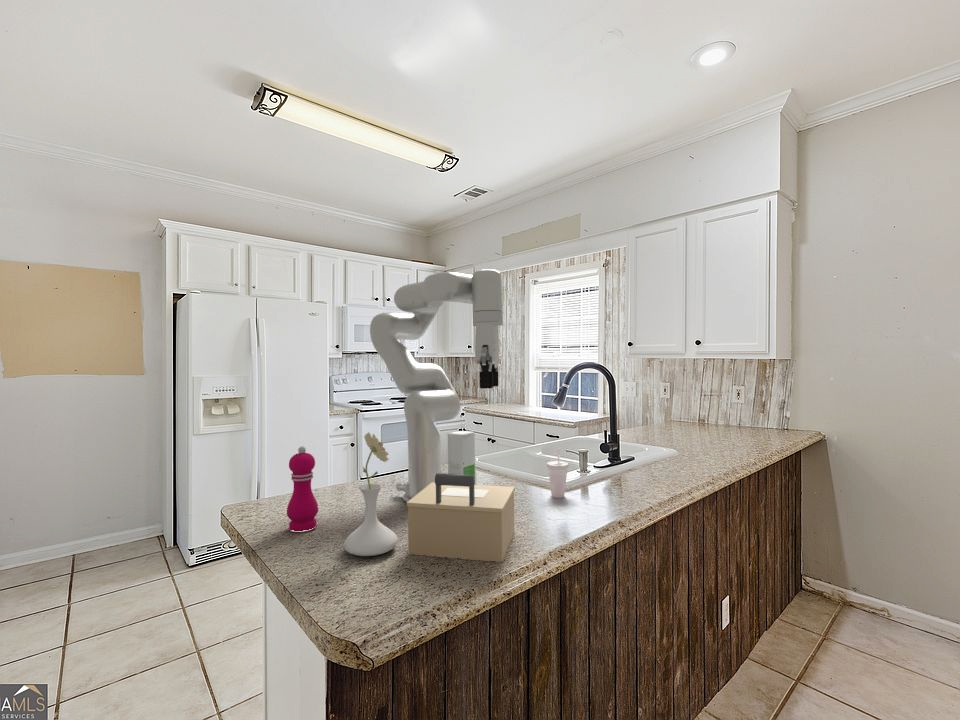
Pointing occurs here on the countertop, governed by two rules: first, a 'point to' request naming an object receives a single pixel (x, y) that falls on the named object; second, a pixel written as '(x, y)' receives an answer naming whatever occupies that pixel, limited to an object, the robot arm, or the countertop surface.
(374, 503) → the flower in vase
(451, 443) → the skincare box
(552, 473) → the smoothie
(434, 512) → the carton
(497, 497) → the carton lid
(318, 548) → the countertop surface
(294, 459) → the pepper mill
